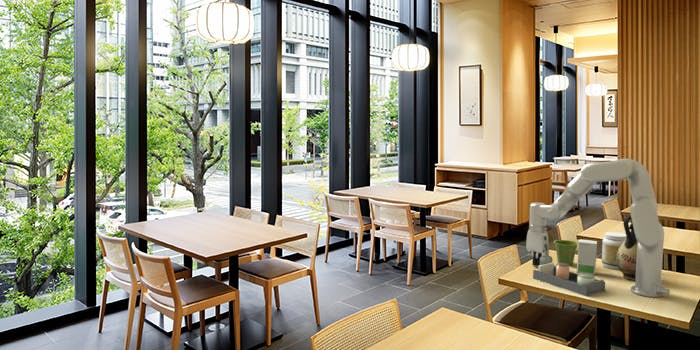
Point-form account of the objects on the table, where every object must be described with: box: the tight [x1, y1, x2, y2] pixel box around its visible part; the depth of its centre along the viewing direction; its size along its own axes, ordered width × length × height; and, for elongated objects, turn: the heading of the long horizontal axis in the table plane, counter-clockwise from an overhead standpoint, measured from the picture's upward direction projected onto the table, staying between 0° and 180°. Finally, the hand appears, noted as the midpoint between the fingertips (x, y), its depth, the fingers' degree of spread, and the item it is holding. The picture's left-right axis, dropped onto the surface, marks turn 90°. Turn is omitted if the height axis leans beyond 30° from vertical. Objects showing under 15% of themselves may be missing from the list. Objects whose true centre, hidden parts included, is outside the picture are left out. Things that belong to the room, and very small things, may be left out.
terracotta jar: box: [555, 261, 570, 280], centre depth 230 cm, size 6×6×9 cm
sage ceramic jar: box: [577, 273, 596, 286], centre depth 220 cm, size 7×7×7 cm
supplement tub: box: [601, 231, 627, 271], centre depth 252 cm, size 12×12×17 cm
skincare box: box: [576, 239, 598, 276], centre depth 244 cm, size 8×7×16 cm
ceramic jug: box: [616, 214, 638, 281], centre depth 234 cm, size 17×15×30 cm
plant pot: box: [553, 239, 579, 266], centre depth 260 cm, size 12×12×11 cm
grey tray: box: [532, 266, 606, 297], centre depth 227 cm, size 28×13×5 cm, turn 30°
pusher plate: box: [537, 262, 555, 275], centre depth 239 cm, size 5×10×6 cm, turn 120°
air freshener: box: [531, 249, 554, 267], centre depth 255 cm, size 11×8×10 cm
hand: (536, 265), depth 242 cm, fingers closed
